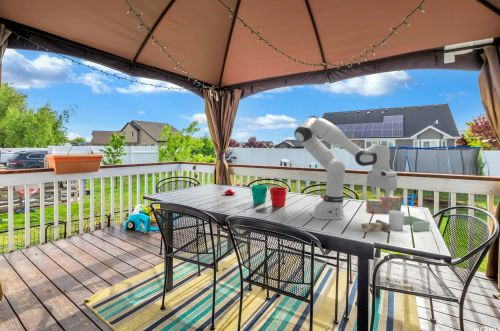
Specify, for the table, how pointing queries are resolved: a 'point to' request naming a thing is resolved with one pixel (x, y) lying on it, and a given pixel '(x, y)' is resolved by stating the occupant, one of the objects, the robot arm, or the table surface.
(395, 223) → the white cup
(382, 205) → the stack of blocks
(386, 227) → the scraper
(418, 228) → the box
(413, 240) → the table surface
